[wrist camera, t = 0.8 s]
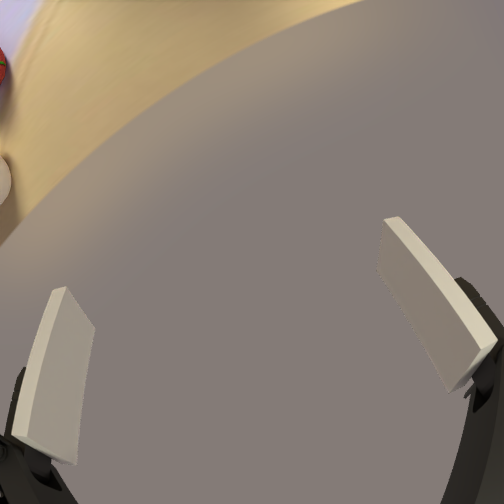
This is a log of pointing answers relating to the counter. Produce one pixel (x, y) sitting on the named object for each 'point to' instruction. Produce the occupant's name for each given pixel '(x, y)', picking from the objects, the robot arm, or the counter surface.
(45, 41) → the counter surface
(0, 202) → the mug
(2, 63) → the tomato
